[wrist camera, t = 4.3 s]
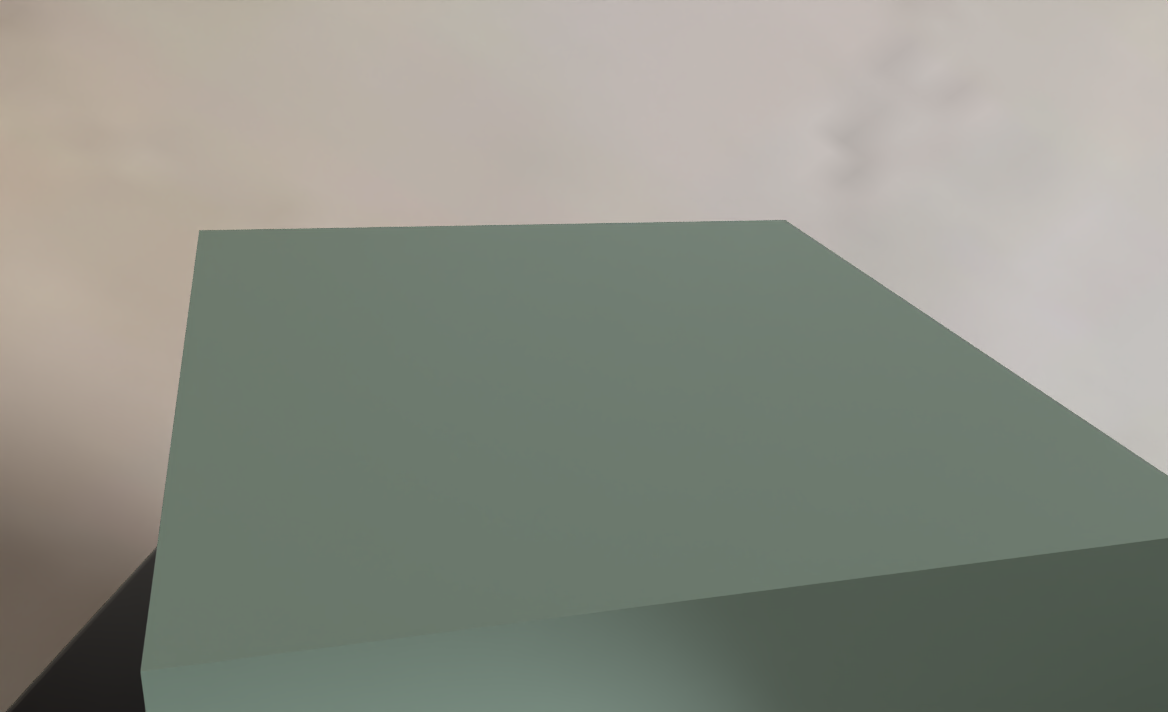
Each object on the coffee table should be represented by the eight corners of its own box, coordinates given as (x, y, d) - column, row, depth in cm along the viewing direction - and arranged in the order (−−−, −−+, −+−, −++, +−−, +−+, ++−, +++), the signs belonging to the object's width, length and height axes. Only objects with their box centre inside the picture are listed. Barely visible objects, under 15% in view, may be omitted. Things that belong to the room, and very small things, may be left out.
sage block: (716, 655, 11) (1003, 1138, 7) (240, 725, 10) (236, 1383, 6) (785, 220, 9) (1246, 530, 5) (199, 231, 8) (141, 672, 4)
